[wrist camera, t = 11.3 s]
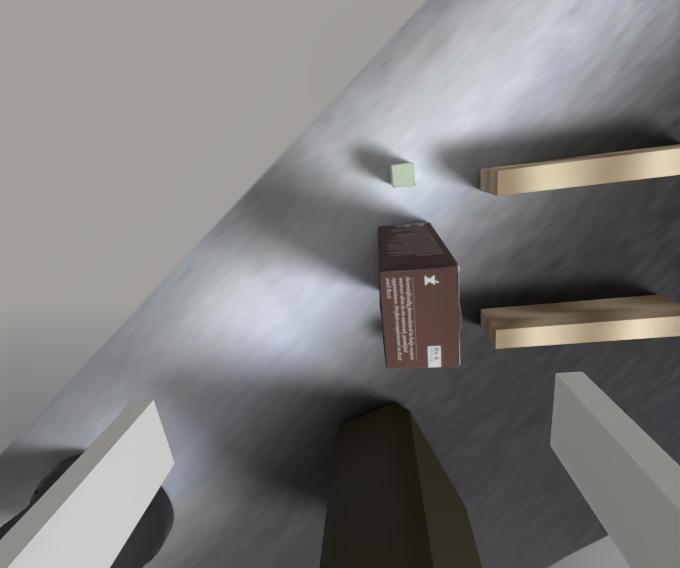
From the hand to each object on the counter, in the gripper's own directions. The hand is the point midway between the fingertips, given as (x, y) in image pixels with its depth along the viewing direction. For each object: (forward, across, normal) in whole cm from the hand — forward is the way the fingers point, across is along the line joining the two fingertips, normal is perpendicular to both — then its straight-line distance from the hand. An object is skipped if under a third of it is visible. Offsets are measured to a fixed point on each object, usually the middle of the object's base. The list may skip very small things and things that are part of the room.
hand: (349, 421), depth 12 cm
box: (+20, +4, 0) cm, 20 cm away
